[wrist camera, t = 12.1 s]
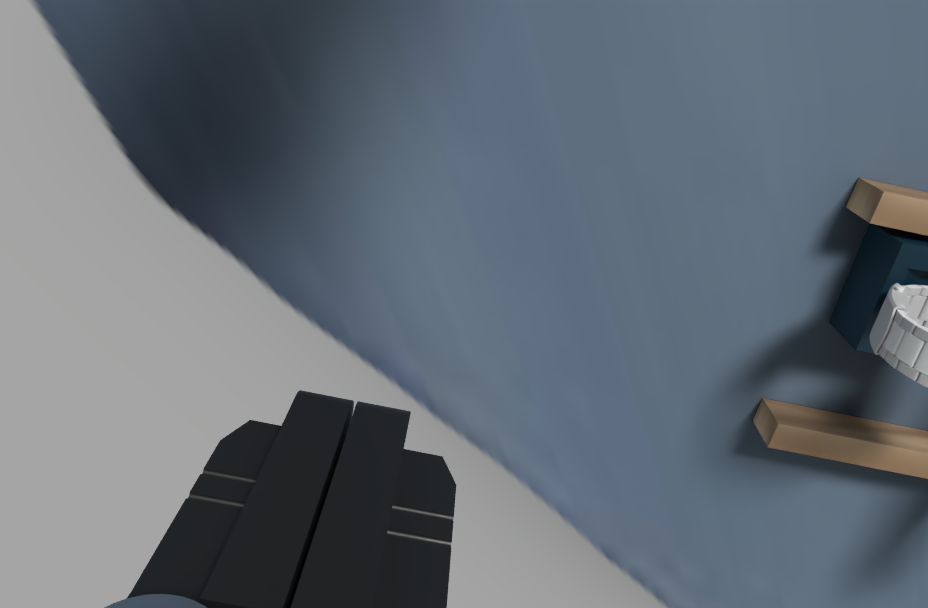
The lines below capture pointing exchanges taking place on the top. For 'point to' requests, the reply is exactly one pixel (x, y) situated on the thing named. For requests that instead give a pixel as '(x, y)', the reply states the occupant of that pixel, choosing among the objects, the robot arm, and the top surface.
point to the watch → (888, 300)
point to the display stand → (844, 432)
